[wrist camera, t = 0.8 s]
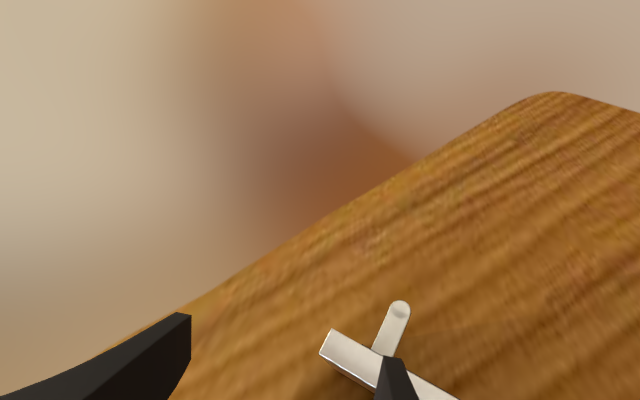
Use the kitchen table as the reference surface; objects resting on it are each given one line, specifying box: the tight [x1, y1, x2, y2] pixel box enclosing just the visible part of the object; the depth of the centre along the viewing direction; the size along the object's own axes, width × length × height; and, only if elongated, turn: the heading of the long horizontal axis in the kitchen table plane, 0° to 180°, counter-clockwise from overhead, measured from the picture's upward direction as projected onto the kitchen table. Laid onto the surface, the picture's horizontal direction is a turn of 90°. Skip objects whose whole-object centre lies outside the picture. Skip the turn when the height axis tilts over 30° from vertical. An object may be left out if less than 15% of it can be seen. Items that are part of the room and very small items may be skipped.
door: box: [319, 300, 460, 400], centre depth 22 cm, size 6×10×8 cm, turn 60°
